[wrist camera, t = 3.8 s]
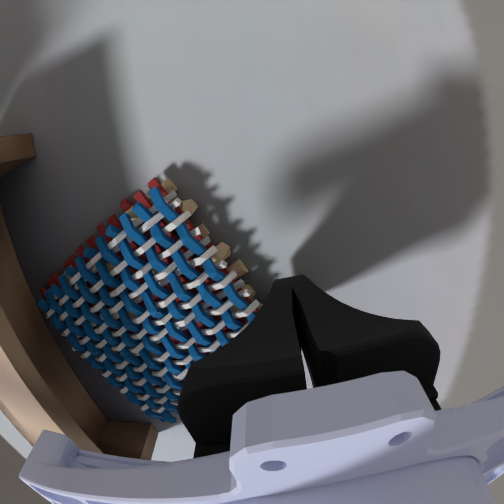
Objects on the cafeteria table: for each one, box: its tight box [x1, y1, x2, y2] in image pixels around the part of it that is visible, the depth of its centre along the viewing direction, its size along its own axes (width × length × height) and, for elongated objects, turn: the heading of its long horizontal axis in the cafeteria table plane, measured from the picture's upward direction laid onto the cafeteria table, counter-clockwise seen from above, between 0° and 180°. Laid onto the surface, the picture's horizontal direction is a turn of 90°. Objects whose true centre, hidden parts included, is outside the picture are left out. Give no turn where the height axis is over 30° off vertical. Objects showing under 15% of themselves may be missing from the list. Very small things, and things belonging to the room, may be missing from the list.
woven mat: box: [37, 178, 263, 423], centre depth 13 cm, size 10×11×2 cm
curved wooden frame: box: [0, 134, 158, 460], centre depth 11 cm, size 20×5×6 cm, turn 12°
